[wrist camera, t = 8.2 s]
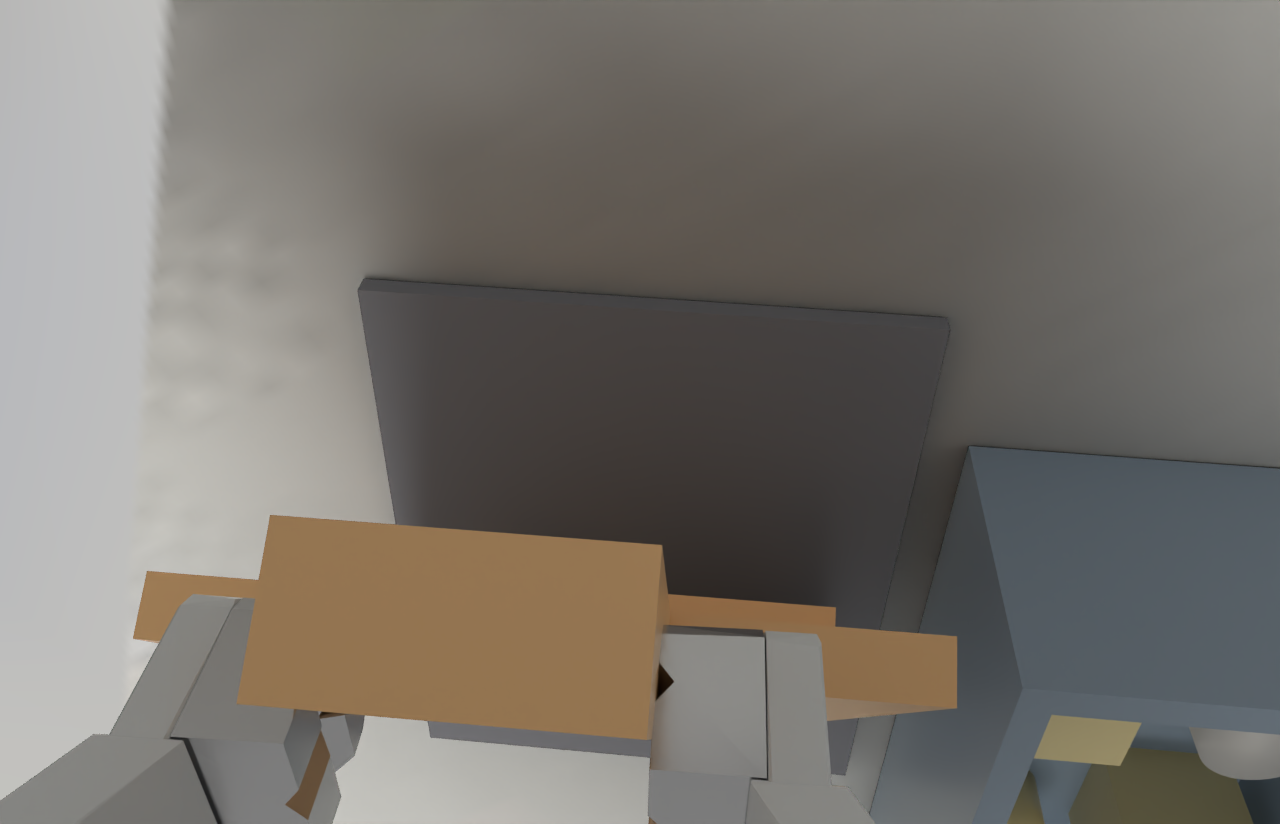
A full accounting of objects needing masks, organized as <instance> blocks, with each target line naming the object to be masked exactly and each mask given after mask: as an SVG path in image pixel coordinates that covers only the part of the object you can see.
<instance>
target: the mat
mask: <svg viewBox="0 0 1280 824" xmlns="http://www.w3.org/2000/svg"><path fill="white" fill-rule="evenodd" d="M358 296H359V302H360V308H361V314H362V320H363V327H364V333H365V339H366V345H367V351H368V357H369V363H370V369H371V376H372V382H373V388H374V394H375V400H376V406H377V412H378V418H379V425H380V431H381V437H382V443H383V449H384V455H385V461H386V468H387V474H388V480H389V486H390V492H391V498H392V504H393V510H394V517H395V523H396V525H407V526H420V527H433V528H446V529H459V530H472V531H486V532H499V533H512V534H525V535H538V536H551V537H564V538H577V539H590V540H603V541H616V542H629V543H642V544H655V545H662V548H663V557H664V565H665V573H666V582H667V590H668V594H673V595H685V596H698V597H711V598H723V599H736V600H748V601H761V602H773V603H786V604H799V605H811V606H824V607H836V619H835V627H847V628H859V629H872V630H880V626H881V621H882V617H883V613H884V609H885V604H886V600H887V596H888V592H889V587H890V583H891V579H892V575H893V570H894V566H895V562H896V558H897V553H898V549H899V545H900V541H901V536H902V532H903V528H904V524H905V519H906V515H907V511H908V507H909V502H910V498H911V494H912V490H913V485H914V481H915V477H916V473H917V468H918V464H919V460H920V456H921V451H922V447H923V443H924V438H925V434H926V430H927V426H928V421H929V417H930V413H931V409H932V404H933V400H934V396H935V392H936V387H937V383H938V379H939V375H940V370H941V366H942V362H943V358H944V353H945V349H946V345H947V341H948V336H949V332H950V327H949V323H948V319H947V318H943V317H928V316H913V315H898V314H883V313H868V312H853V311H838V310H823V309H808V308H793V307H778V306H763V305H748V304H733V303H718V302H703V301H688V300H673V299H658V298H643V297H628V296H613V295H598V294H583V293H568V292H553V291H538V290H523V289H508V288H493V287H478V286H463V285H448V284H433V283H418V282H403V281H388V280H373V279H363V281H362V283H361V285H360V286H359V288H358ZM858 719H859V718H853V719H843V720H832V721H827V727H828V740H829V754H830V767H831V774H836V775H846V770H847V766H848V762H849V758H850V753H851V749H852V745H853V741H854V736H855V732H856V728H857V723H858ZM428 725H429V731H430V737H431V738H442V739H453V740H464V741H475V742H486V743H497V744H508V745H519V746H530V747H541V748H552V749H562V750H573V751H584V752H595V753H606V754H617V755H628V756H639V757H650V755H651V741H652V739H651V740H641V739H629V738H618V737H606V736H595V735H584V734H572V733H561V732H550V731H538V730H527V729H515V728H504V727H493V726H481V725H470V724H458V723H447V722H436V721H428Z"/></svg>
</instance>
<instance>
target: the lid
mask: <svg viewBox="0 0 1280 824" xmlns="http://www.w3.org/2000/svg"><path fill="white" fill-rule="evenodd" d="M192 594H199V595H212V596H225V597H238V598H254V599H255V603H254V609H253V614H252V620H251V625H250V631H249V636H248V642H247V647H246V653H245V658H244V664H243V670H242V675H241V681H240V686H239V692H238V697H237V703H236V704H242V705H253V706H265V707H276V708H288V709H299V710H310V711H322V712H333V713H344V714H356V715H367V716H379V717H390V718H401V719H413V720H424V721H436V722H447V723H458V724H470V725H481V726H493V727H504V728H515V729H527V730H538V731H550V732H561V733H572V734H584V735H595V736H606V737H618V738H629V739H641V740H651V739H652V731H653V720H654V710H655V701H656V700H657V699H658V678H659V659H660V649H661V639H662V631H663V625H678V626H698V627H718V628H738V629H758V630H763V633H764V632H765V631H778V632H794V633H810V634H817V635H818V637H819V639H820V641H821V645H822V659H823V672H824V686H825V699H826V713H827V721H832V720H843V719H853V718H863V717H873V716H884V715H894V714H904V713H914V712H925V711H935V710H945V709H955V708H957V636H946V635H934V634H921V633H909V632H896V631H884V630H872V629H859V628H847V627H835V619H836V607H824V606H811V605H799V604H786V603H773V602H761V601H748V600H736V599H723V598H711V597H698V596H685V595H673V594H668V590H667V582H666V573H665V565H664V557H663V548H662V545H655V544H642V543H629V542H616V541H603V540H590V539H577V538H564V537H551V536H538V535H525V534H512V533H499V532H486V531H472V530H459V529H446V528H433V527H420V526H407V525H394V524H381V523H368V522H355V521H342V520H329V519H316V518H303V517H290V516H277V515H270V520H269V525H268V531H267V536H266V542H265V547H264V553H263V559H262V564H261V570H260V575H259V580H251V579H239V578H226V577H214V576H202V575H189V574H177V573H164V572H152V571H147V574H146V579H145V583H144V588H143V593H142V598H141V602H140V607H139V612H138V617H137V622H136V626H135V631H134V636H133V639H138V640H143V641H149V642H155V643H159V642H160V640H161V638H162V636H163V635H164V633H165V631H166V629H167V627H168V625H169V623H170V622H171V620H172V618H173V616H174V614H175V612H176V611H177V609H178V607H179V606H180V605H181V604H182V603H183V602H185V601H186V600H187V599H188V598H189V597H190V596H191V595H192Z"/></svg>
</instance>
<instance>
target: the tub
mask: <svg viewBox="0 0 1280 824" xmlns="http://www.w3.org/2000/svg"><path fill="white" fill-rule="evenodd" d="M918 633H921V634H934V635H946V636H957V708H955V709H945V710H935V711H925V712H914V713H904V714H896V718H895V722H894V725H893V729H892V733H891V737H890V740H889V744H888V748H887V751H886V755H885V759H884V763H883V766H882V770H881V774H880V777H879V781H878V785H877V789H876V792H875V796H874V800H873V803H872V807H871V811H870V816H871V818H872V819H873V820H874V822H875V823H876V824H1280V469H1276V468H1262V467H1249V466H1235V465H1221V464H1208V463H1194V462H1180V461H1167V460H1153V459H1140V458H1126V457H1112V456H1099V455H1085V454H1071V453H1058V452H1044V451H1030V450H1017V449H1003V448H990V447H976V446H969V447H968V450H967V454H966V458H965V461H964V465H963V469H962V473H961V476H960V480H959V484H958V487H957V491H956V495H955V499H954V502H953V506H952V510H951V513H950V517H949V521H948V525H947V528H946V532H945V536H944V540H943V543H942V547H941V551H940V554H939V558H938V562H937V566H936V569H935V573H934V577H933V580H932V584H931V588H930V592H929V595H928V599H927V603H926V606H925V610H924V614H923V618H922V621H921V625H920V629H919V632H918Z"/></svg>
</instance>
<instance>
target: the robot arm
mask: <svg viewBox="0 0 1280 824" xmlns="http://www.w3.org/2000/svg"><path fill="white" fill-rule="evenodd" d="M254 603H255V599H254V598H238V597H225V596H212V595H199V594H192V595H191V596H190V597H189V598H188V599H187V600H186V601H185V602H183V603H182V604H181V605H180V606H179V607H178V609H177V611H176V612H175V614H174V616H173V618H172V620H171V622H170V623H169V625H168V627H167V629H166V631H165V633H164V635H163V636H162V638H161V640H160V642H159V644H158V646H157V647H156V649H155V651H154V653H153V655H152V657H151V658H150V660H149V662H148V664H147V666H146V668H145V670H144V671H143V673H142V675H141V677H140V679H139V681H138V682H137V684H136V686H135V688H134V690H133V692H132V694H131V695H130V697H129V699H128V701H127V703H126V705H125V706H124V708H123V710H122V712H121V714H120V716H119V717H118V719H117V721H116V723H115V725H114V727H113V729H112V730H111V732H110V734H109V735H108V734H93V735H92V736H90V737H89V738H88V739H86V740H85V741H83V742H82V743H81V744H79V745H78V746H76V747H75V748H74V749H72V750H71V751H69V752H68V753H66V754H65V755H64V756H62V757H61V758H59V759H58V760H57V761H55V762H54V763H52V764H51V765H50V766H48V767H47V768H46V769H44V770H43V771H41V772H40V773H39V774H37V775H36V776H34V777H33V778H31V779H30V780H29V781H27V782H26V783H24V784H23V785H22V786H20V787H19V788H17V789H16V790H15V791H13V792H12V793H10V794H9V795H8V796H6V797H5V798H3V799H2V800H1V801H0V824H332V823H333V820H334V817H335V814H336V811H337V808H338V805H339V802H340V799H341V794H340V790H339V786H338V782H337V779H336V775H335V772H336V771H337V770H338V769H339V768H341V767H342V766H343V765H344V764H345V763H347V762H348V761H349V760H350V759H351V758H352V757H354V756H355V752H356V749H357V746H358V743H359V739H360V736H361V733H362V729H363V723H364V716H365V715H356V714H344V713H333V712H322V711H310V710H299V709H288V708H276V707H265V706H253V705H242V704H236V703H237V697H238V692H239V686H240V681H241V675H242V670H243V664H244V658H245V653H246V647H247V642H248V636H249V631H250V625H251V620H252V614H253V609H254ZM648 816H649V824H876V823H875V822H874V820H873V819H872V818H871V816H870V815H869V814H868V813H867V811H866V810H865V809H864V807H863V806H862V805H861V803H860V802H859V801H858V799H857V798H856V797H855V795H854V794H853V793H852V791H851V790H850V789H849V787H844V786H835V785H832V781H831V767H830V754H829V740H828V727H827V713H826V699H825V686H824V672H823V659H822V645H821V641H820V639H819V637H818V635H817V634H810V633H794V632H778V631H765V632H764V633H763V630H758V629H738V628H718V627H698V626H678V625H663V631H662V639H661V649H660V659H659V678H658V699H657V700H656V701H655V710H654V720H653V731H652V741H651V755H650V769H649V797H648Z"/></svg>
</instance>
